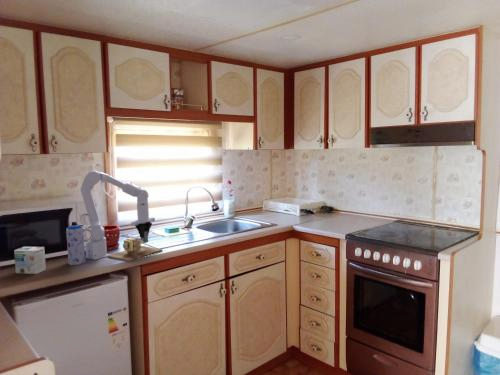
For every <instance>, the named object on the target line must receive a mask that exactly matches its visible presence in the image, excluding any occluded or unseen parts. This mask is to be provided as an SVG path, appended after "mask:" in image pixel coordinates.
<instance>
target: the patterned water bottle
mask: <svg viewBox="0 0 500 375" xmlns="http://www.w3.org/2000/svg"><path fill="white" fill-rule="evenodd" d="M65 234H66V244H67V245H66V246H67V257H68V258H67V259H68V261H67V264H68V265H71V266H74V265H75V266H77V265H81V264H84V263H86V262H87V261H86V249H85V238H84V237H85V236H84V228H83V226H82V225H80V224H78V222H77V221H72V222H71V224H70V225H68V227H66V231H65Z"/></svg>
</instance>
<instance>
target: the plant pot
mask: <svg viewBox="0 0 500 375" xmlns="http://www.w3.org/2000/svg"><path fill="white" fill-rule="evenodd" d="M102 226H103V227H104V230H105V231H104V233H105V235H104V237H106V248H107V251H112V250H116V249H117V248H119V246H120V243H119V240H120V234H121V233H120V226H119V225H115V224H108V225H102Z"/></svg>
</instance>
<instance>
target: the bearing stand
mask: <svg viewBox="0 0 500 375" xmlns="http://www.w3.org/2000/svg"><path fill="white" fill-rule="evenodd" d="M140 239H141V237H134V236H133V237H129V238H126V239H125V240H130V241H133V251H126V250H122V251H118V252H116V253H112V254H111V255H108V256H107V258H109V259H113V260H117V261H123V262H126V263H131V262H134V261H137V260H140V259H143V258H146V257H149V256H152V255H151V254H153V255H155V254H154V253H156V254H158V253H157V252H159V253H161V252H160V251H162V252H163V249H161V248H158V247H157V248H156V247H150V246H145V245H142V244H141V240H140ZM148 255H149V256H148ZM145 256H146V257H145Z"/></svg>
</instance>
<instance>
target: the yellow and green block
mask: <svg viewBox="0 0 500 375" xmlns="http://www.w3.org/2000/svg"><path fill="white" fill-rule="evenodd" d="M140 240H141V245H142V244H147V243H149V234H148V231H144V238H141V237H140ZM128 247H129V244H128V243H124V242H123V243H122V248H123V249H124V248H128Z"/></svg>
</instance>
